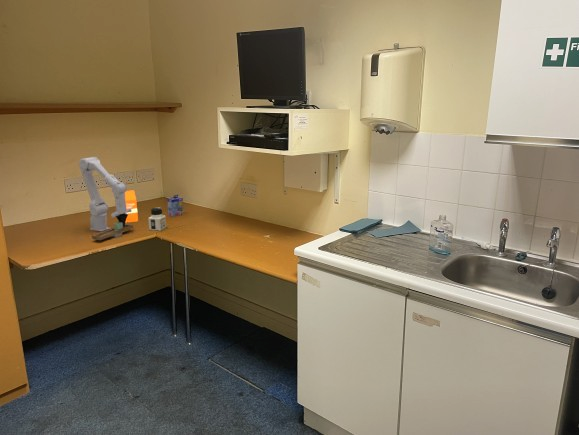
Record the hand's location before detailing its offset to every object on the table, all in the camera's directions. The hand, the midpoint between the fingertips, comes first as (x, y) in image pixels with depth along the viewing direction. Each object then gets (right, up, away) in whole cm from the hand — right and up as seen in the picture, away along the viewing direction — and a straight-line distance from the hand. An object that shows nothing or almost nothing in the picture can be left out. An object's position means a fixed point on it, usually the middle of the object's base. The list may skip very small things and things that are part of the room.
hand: (122, 226), depth 267 cm
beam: (-3, -6, -6) cm, 8 cm away
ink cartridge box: (+21, +7, +42) cm, 48 cm away
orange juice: (-6, +3, +27) cm, 28 cm away
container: (+18, -2, +10) cm, 21 cm away
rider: (-1, -2, -3) cm, 4 cm away
